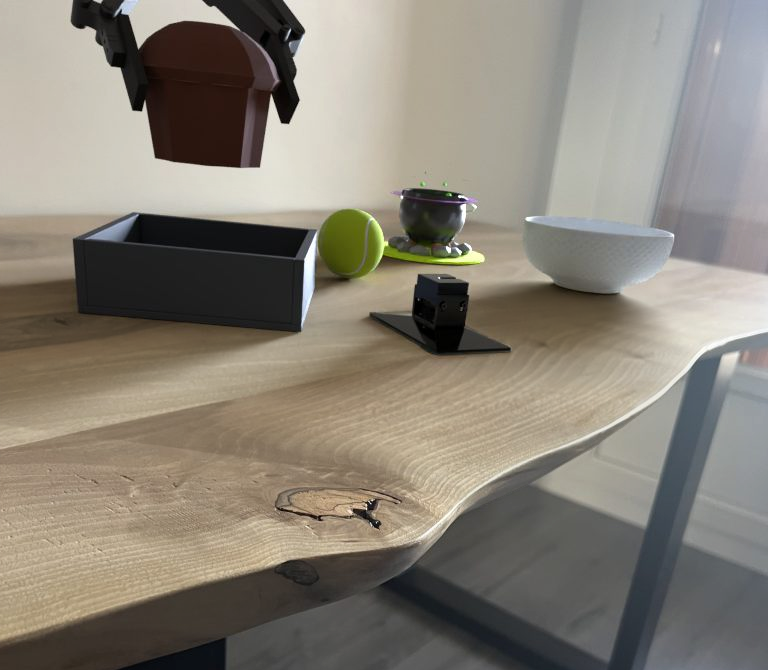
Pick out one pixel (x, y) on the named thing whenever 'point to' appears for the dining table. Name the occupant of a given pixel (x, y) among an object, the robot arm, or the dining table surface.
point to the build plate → (440, 318)
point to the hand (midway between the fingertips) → (219, 105)
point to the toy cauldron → (432, 227)
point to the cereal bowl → (594, 252)
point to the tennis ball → (350, 243)
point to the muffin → (207, 94)
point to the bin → (197, 271)
